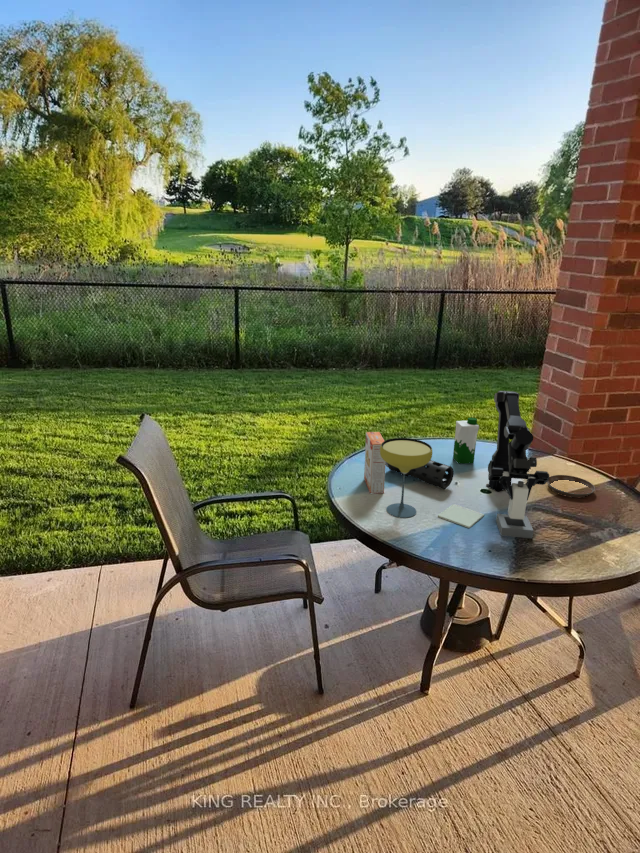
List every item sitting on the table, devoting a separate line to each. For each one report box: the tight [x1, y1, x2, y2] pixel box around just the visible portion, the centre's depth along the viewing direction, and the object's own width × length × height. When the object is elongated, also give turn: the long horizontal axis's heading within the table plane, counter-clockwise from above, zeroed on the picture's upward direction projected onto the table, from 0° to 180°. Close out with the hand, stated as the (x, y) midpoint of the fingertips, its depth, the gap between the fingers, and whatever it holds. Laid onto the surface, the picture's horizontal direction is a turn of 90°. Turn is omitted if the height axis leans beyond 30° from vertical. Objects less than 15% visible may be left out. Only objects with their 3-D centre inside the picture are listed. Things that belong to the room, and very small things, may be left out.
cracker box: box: [363, 431, 386, 494], centre depth 205 cm, size 14×6×21 cm, turn 5°
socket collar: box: [495, 512, 534, 539], centre depth 177 cm, size 10×10×3 cm
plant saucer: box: [546, 474, 596, 498], centre depth 209 cm, size 18×18×3 cm
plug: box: [507, 480, 529, 520], centre depth 174 cm, size 4×4×12 cm
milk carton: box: [452, 416, 480, 465], centre depth 233 cm, size 9×9×20 cm
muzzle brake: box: [385, 459, 455, 490], centre depth 214 cm, size 10×28×10 cm, turn 46°
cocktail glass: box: [380, 437, 433, 519], centre depth 185 cm, size 18×18×25 cm
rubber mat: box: [437, 503, 485, 529], centre depth 186 cm, size 12×12×1 cm
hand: (519, 500), depth 173 cm, fingers closed on plug, 4 cm apart
